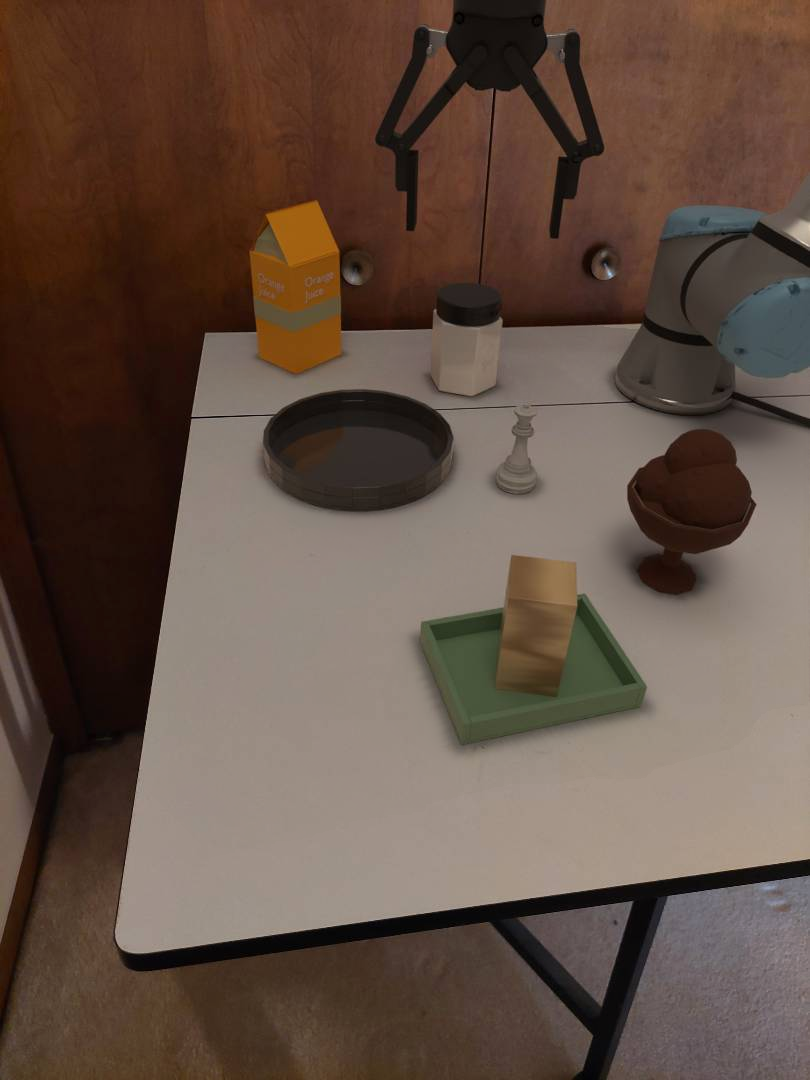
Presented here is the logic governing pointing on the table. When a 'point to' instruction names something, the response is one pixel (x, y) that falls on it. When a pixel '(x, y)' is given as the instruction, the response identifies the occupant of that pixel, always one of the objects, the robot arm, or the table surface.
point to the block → (536, 625)
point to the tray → (485, 712)
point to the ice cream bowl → (689, 505)
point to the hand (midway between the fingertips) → (482, 230)
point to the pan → (358, 449)
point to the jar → (466, 338)
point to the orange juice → (296, 288)
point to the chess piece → (519, 456)
